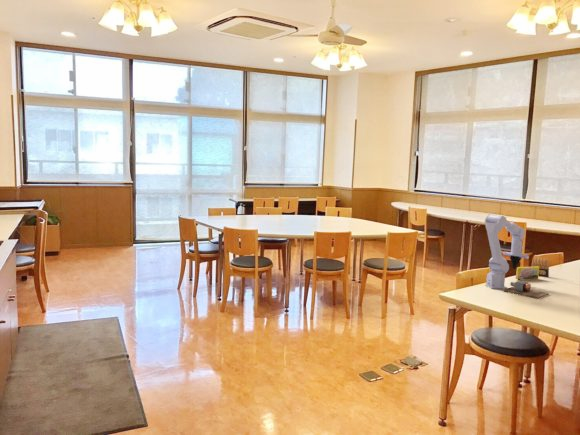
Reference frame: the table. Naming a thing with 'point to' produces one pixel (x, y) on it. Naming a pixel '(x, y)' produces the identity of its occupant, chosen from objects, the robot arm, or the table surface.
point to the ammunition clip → (542, 267)
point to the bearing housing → (520, 286)
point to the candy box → (527, 272)
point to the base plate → (527, 293)
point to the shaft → (526, 286)
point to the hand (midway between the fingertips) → (514, 268)
